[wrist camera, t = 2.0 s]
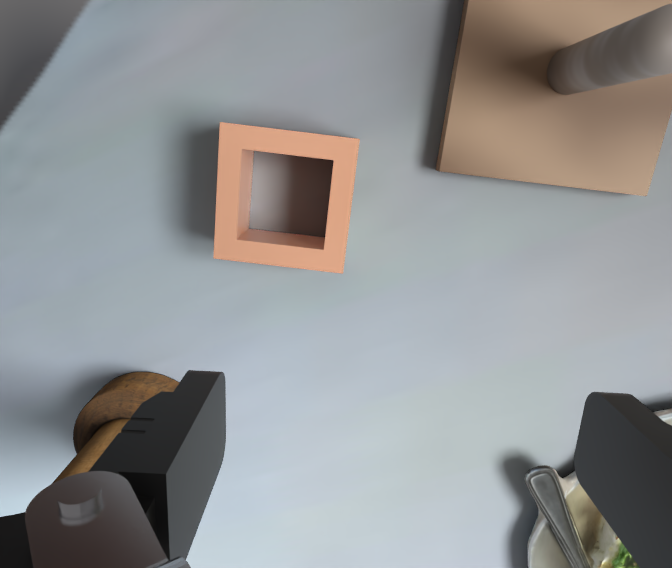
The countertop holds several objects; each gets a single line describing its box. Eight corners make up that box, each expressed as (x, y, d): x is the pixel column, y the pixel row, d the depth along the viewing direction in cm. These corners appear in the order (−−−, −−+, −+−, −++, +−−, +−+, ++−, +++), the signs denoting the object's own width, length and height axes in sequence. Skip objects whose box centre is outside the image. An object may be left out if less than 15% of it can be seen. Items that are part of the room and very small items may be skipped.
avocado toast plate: (433, 541, 31) (448, 608, 26) (639, 328, 27) (698, 366, 22) (652, 676, 34) (698, 756, 29) (869, 503, 30) (961, 567, 25)
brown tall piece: (191, 363, 27) (-72, 745, 10) (218, 461, 29) (33, 929, 12) (78, 379, 28) (-363, 773, 10) (111, 475, 29) (-220, 948, 12)
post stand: (475, -64, 21) (548, -179, 14) (699, -35, 21) (897, -133, 14) (435, 170, 24) (477, 183, 16) (634, 193, 24) (769, 218, 17)
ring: (235, 124, 24) (219, 122, 21) (357, 139, 24) (359, 139, 21) (228, 245, 25) (213, 258, 22) (343, 258, 25) (342, 273, 23)
